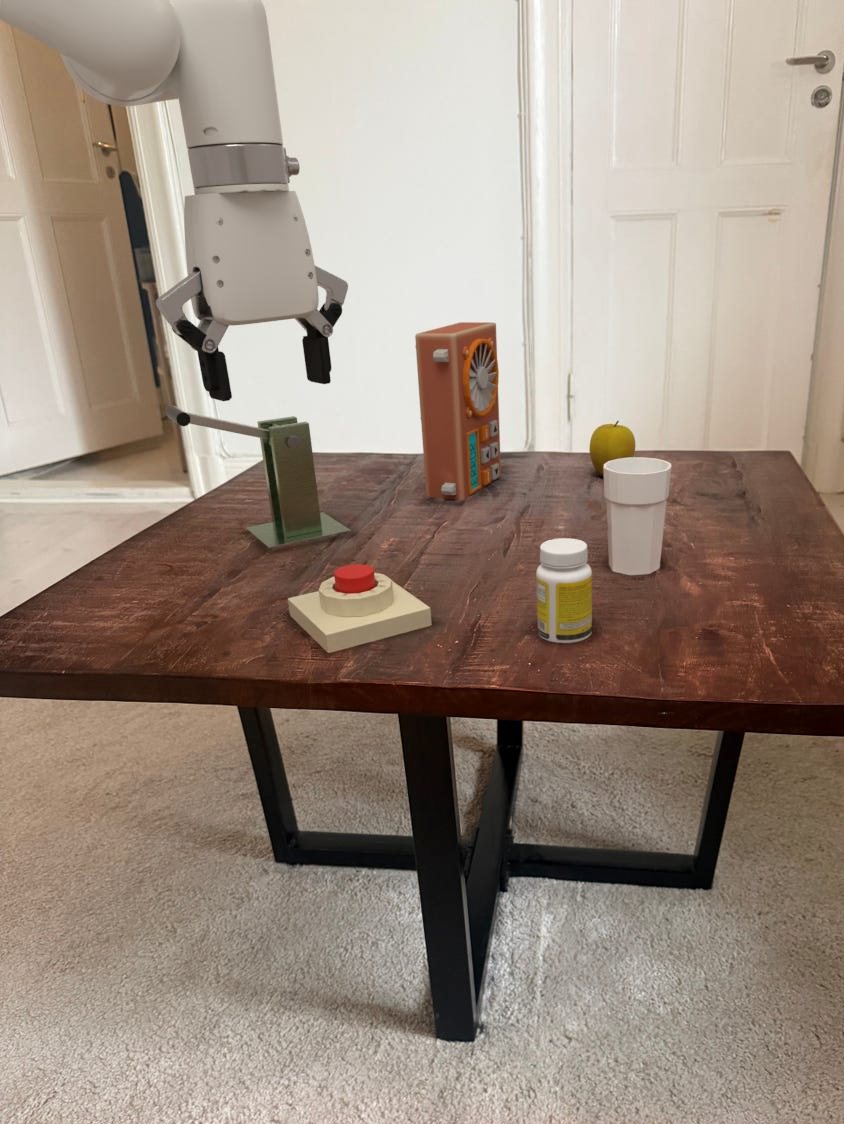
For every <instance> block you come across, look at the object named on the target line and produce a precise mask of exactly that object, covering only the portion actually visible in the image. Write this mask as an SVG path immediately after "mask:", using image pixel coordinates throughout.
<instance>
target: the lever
mask: <svg viewBox="0 0 844 1124" xmlns="http://www.w3.org/2000/svg"><path fill="white" fill-rule="evenodd" d="M165 415H166V416H167V418H169V419H170V420H171V421H173V422H174V423H176V424H177V425H179V426H181V427H187V426H189V425H190V424H191V425H195V426H201V427H205V428H208V429H209V428H210V429H213V430H214V429H215V430H220V431H225V432H229V433H235V434H239V435H245V436H249V437H252V438H253V437H254V438H258V439H260V438H263V439H268V440H269V445H271V441H270V434H269V430H268V429H263V428H259V427H258V426H253V425H248V424H245V423H244V424H243V423H240V422H234V421H229V420H225V419H221V418H215V417H211V416H205V415H200V414H196V413H191V412H186V411H184V410H182V409H181V408H179V407H178V406H175V405H170V406H168V407H167V408H166V410H165ZM273 426H280V425H277V424H272V427H273Z"/></svg>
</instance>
